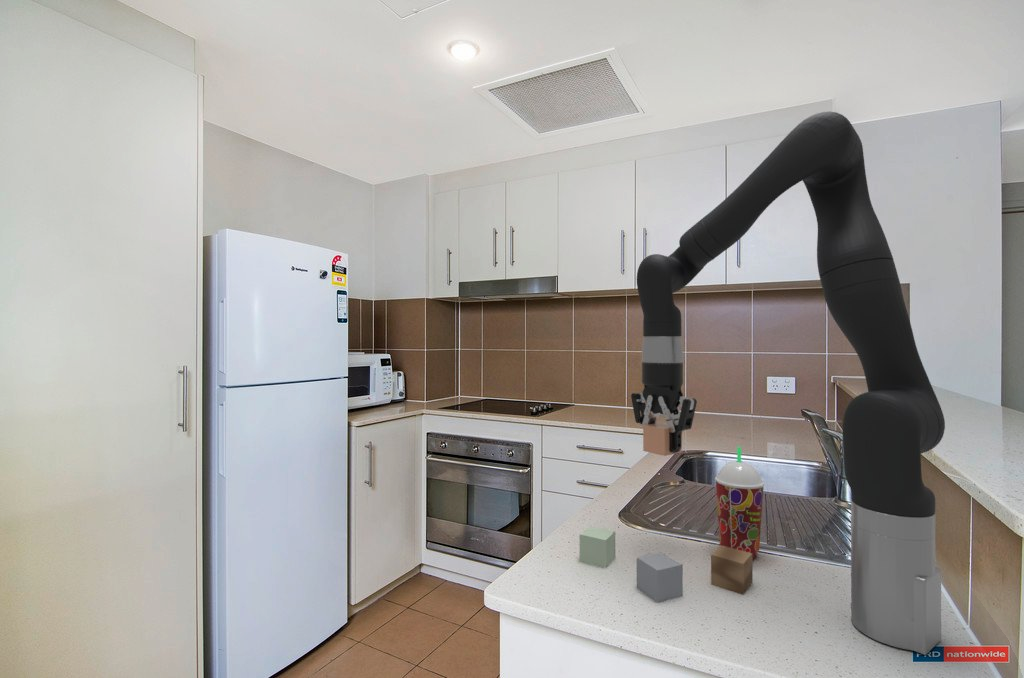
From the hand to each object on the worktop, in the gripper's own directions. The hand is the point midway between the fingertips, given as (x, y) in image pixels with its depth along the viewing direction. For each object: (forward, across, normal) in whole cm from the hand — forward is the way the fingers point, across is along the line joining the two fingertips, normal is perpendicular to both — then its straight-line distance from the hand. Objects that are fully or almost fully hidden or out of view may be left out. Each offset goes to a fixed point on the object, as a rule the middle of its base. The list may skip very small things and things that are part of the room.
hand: (662, 448), depth 94 cm
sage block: (+19, +4, +13) cm, 24 cm away
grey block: (+19, -10, +13) cm, 25 cm away
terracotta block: (0, 0, 0) cm, 0 cm away
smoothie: (+20, -9, -11) cm, 24 cm away
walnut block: (+19, -15, +1) cm, 25 cm away
